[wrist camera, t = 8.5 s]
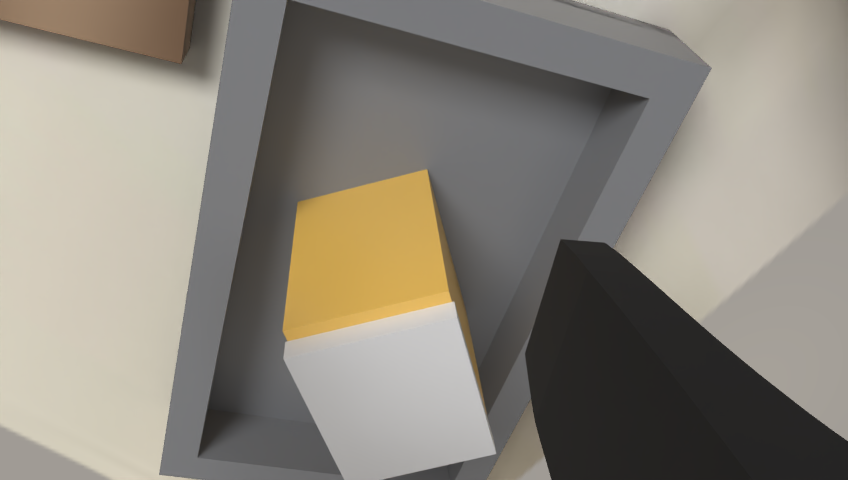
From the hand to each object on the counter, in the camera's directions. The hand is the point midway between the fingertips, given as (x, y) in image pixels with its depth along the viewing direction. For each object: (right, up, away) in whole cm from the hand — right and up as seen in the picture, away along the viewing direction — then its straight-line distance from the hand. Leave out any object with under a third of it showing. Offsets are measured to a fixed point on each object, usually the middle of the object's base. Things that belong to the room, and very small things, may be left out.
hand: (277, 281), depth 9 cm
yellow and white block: (+1, 0, +11) cm, 11 cm away
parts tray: (+1, 0, +11) cm, 11 cm away
